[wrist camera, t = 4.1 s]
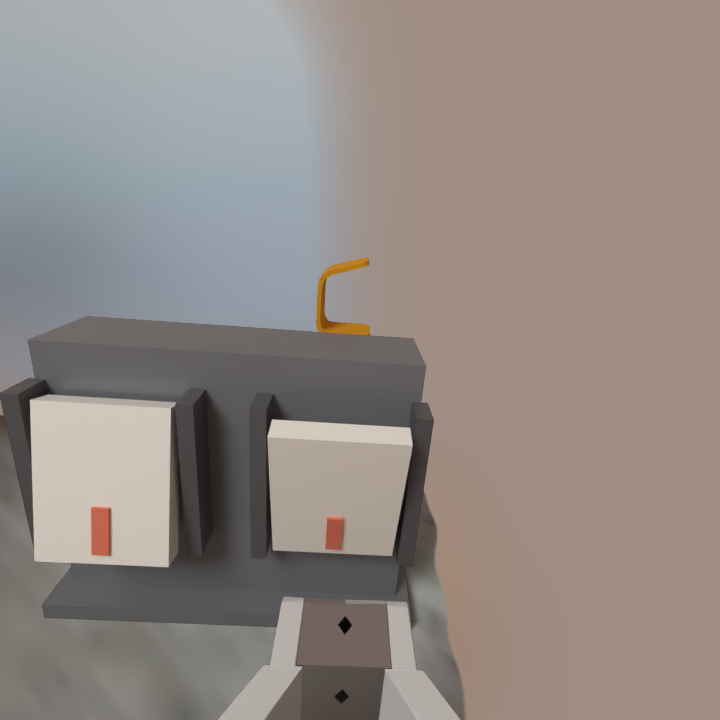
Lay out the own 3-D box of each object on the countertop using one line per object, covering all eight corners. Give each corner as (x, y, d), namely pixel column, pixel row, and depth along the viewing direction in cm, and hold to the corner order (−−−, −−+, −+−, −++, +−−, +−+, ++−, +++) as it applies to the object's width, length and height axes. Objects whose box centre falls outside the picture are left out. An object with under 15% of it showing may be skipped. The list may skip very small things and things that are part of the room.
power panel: (41, 621, 30) (-22, 350, 23) (118, 520, 39) (89, 309, 33) (409, 636, 31) (450, 381, 24) (396, 534, 40) (422, 332, 34)
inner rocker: (32, 563, 26) (27, 400, 24) (51, 547, 27) (48, 394, 26) (167, 569, 26) (169, 409, 25) (178, 553, 28) (180, 402, 26)
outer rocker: (272, 553, 28) (266, 439, 23) (276, 530, 30) (272, 419, 24) (392, 558, 28) (413, 448, 23) (390, 536, 30) (410, 427, 25)
